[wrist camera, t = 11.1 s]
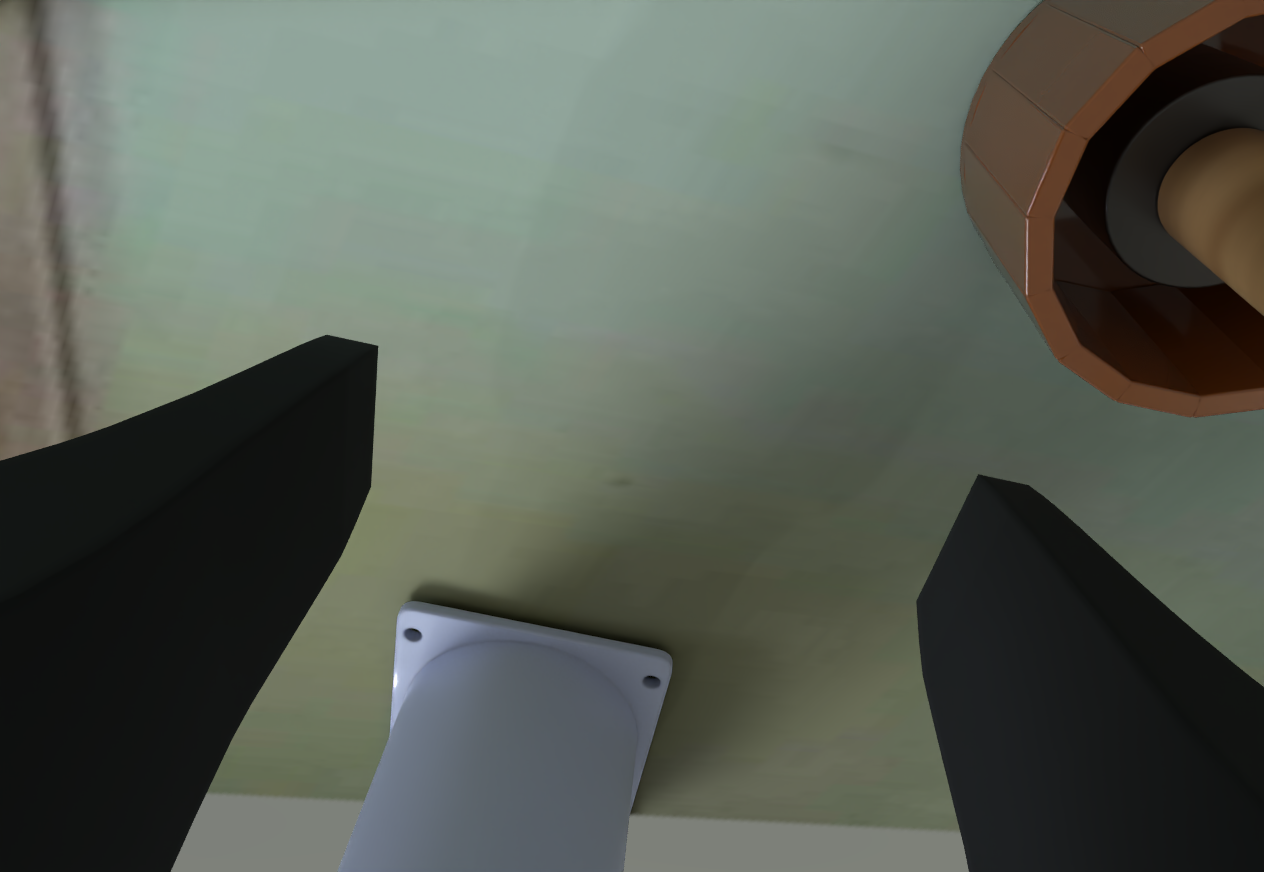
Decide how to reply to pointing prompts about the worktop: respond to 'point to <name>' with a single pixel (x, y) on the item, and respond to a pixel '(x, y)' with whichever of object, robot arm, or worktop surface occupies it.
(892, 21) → the worktop surface
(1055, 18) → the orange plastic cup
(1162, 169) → the brush
